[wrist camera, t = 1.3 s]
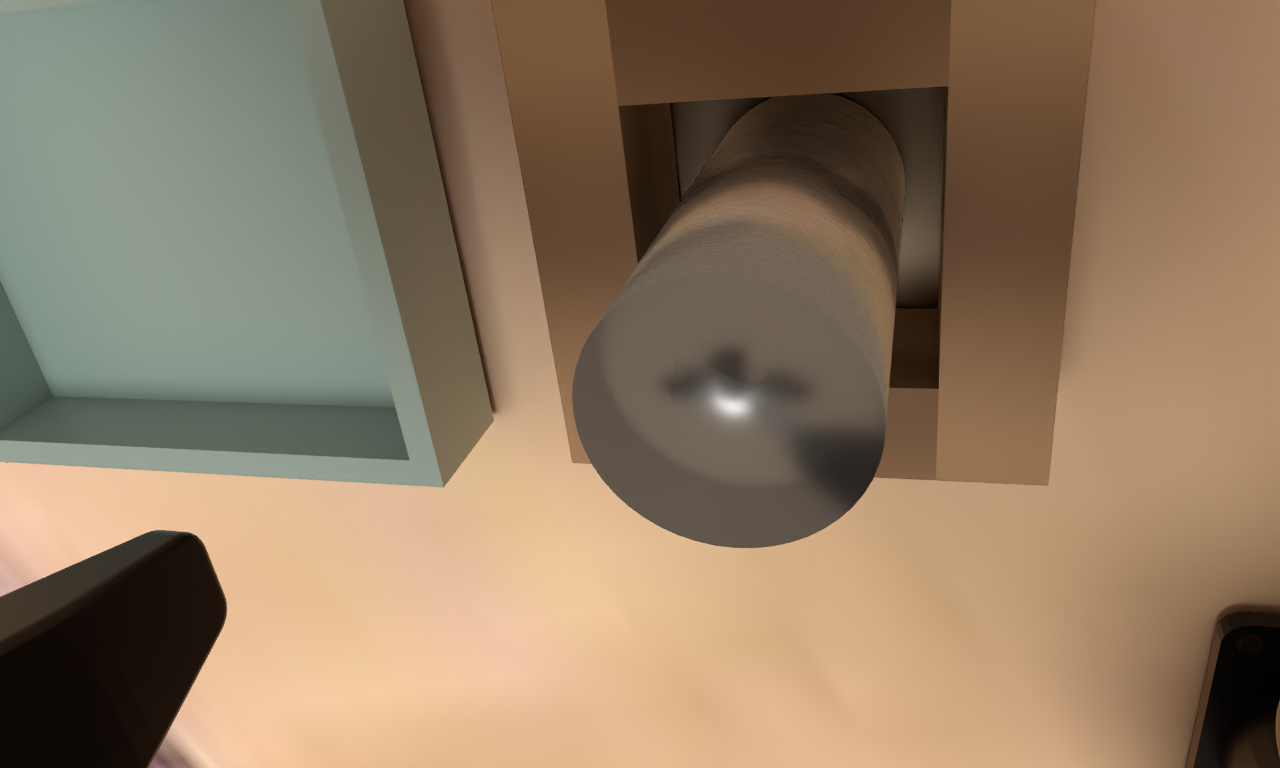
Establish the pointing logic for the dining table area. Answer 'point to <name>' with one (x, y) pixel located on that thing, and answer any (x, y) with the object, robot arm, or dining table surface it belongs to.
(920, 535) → the dining table surface
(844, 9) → the socket block
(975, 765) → the dining table surface
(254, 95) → the tray
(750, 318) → the pin
